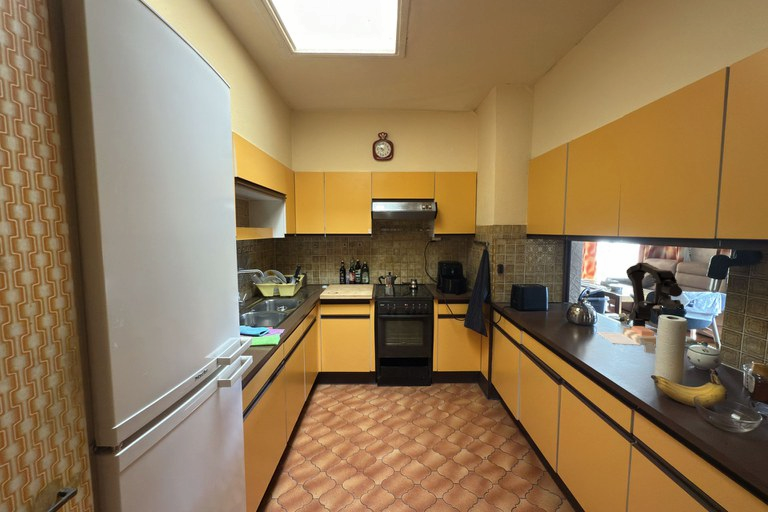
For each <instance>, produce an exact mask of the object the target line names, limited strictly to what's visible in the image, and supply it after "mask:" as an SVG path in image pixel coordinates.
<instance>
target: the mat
mask: <svg viewBox="0 0 768 512" xmlns="http://www.w3.org/2000/svg"><path fill="white" fill-rule="evenodd" d="M596 333H597V334H599V335H600V336H602V337H603V338H604V339H606V340H607V341H609V342H610V343H612V344H613V345H625V346H626V345H629V346H630V345H631V346H641V345H640V344H639V343H637V342H635V341H634V340H632V339H630V338H629V337H627V336H625V335H624V334H623V332H611V331H610V332H609V331H608V332H607V331H606V332H605V331H596Z"/></svg>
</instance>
